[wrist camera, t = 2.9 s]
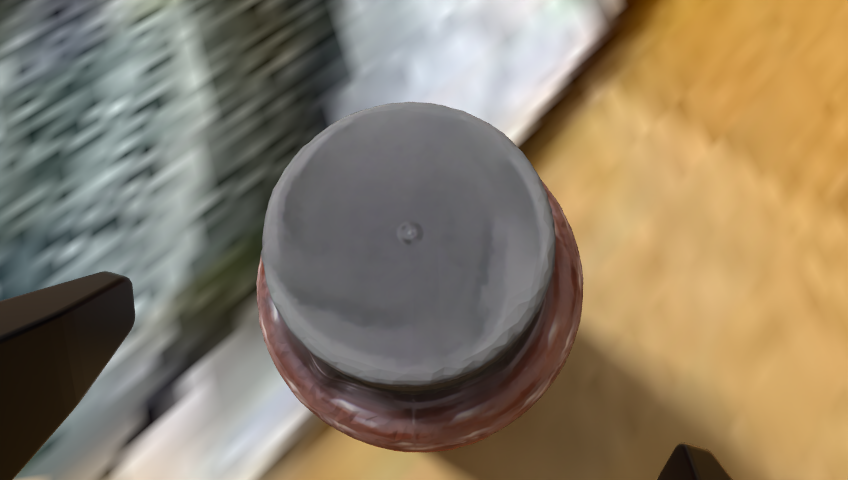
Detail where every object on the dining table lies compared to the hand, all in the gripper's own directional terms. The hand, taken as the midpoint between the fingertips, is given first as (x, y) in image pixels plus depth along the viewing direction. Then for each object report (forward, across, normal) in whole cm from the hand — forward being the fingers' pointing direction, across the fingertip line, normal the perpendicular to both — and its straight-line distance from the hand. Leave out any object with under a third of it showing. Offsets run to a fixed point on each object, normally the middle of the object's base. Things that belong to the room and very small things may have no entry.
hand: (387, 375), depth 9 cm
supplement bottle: (+8, 0, +5) cm, 10 cm away
